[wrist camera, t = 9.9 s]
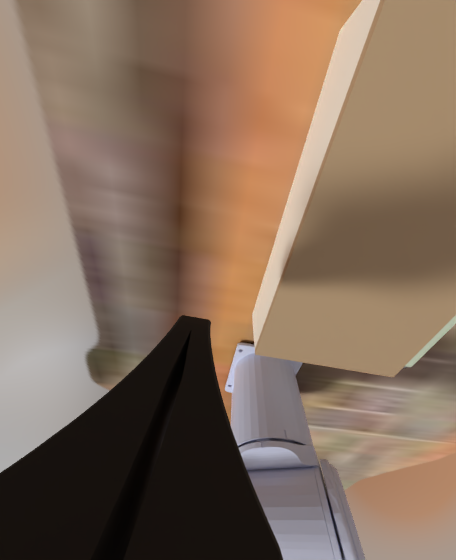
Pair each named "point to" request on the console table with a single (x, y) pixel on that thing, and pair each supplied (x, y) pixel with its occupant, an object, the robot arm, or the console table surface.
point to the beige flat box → (371, 200)
